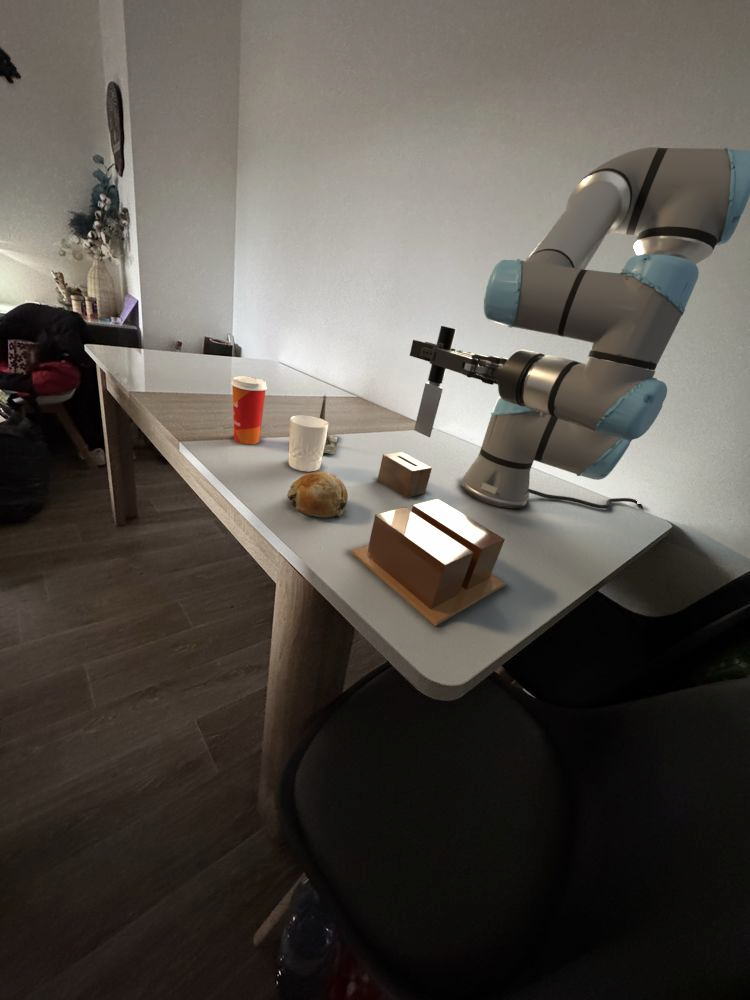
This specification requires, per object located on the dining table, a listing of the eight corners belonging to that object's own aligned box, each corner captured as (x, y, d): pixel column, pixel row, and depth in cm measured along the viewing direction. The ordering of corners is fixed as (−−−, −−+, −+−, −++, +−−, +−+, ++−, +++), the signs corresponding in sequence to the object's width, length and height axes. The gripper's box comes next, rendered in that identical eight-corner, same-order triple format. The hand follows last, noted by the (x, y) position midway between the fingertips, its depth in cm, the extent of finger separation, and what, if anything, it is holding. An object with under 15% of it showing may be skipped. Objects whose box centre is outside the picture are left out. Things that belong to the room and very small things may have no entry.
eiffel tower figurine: (300, 431, 105) (305, 381, 100) (337, 437, 107) (345, 388, 101) (292, 450, 92) (298, 393, 86) (335, 456, 93) (344, 401, 88)
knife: (434, 437, 73) (462, 330, 65) (425, 437, 71) (453, 328, 63) (418, 429, 75) (444, 326, 67) (409, 430, 74) (434, 324, 66)
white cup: (319, 475, 82) (326, 429, 78) (282, 468, 81) (286, 422, 77) (324, 462, 89) (330, 419, 85) (290, 456, 88) (294, 412, 84)
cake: (503, 586, 59) (521, 544, 55) (435, 626, 48) (452, 577, 45) (422, 530, 69) (432, 492, 66) (351, 553, 59) (360, 509, 55)
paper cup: (236, 432, 95) (238, 373, 89) (267, 438, 96) (271, 380, 90) (224, 442, 88) (225, 379, 82) (257, 448, 89) (261, 386, 83)
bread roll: (322, 540, 67) (348, 508, 63) (273, 504, 66) (297, 470, 62) (338, 515, 76) (362, 486, 72) (295, 482, 75) (317, 451, 71)
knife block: (425, 493, 84) (432, 467, 82) (405, 497, 80) (412, 471, 78) (396, 476, 90) (402, 451, 87) (377, 479, 86) (382, 454, 83)
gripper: (497, 407, 52) (383, 367, 67) (550, 407, 63) (441, 372, 77) (516, 349, 49) (392, 320, 64) (569, 358, 59) (451, 332, 74)
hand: (419, 348), depth 71 cm, fingers closed on knife, 3 cm apart
